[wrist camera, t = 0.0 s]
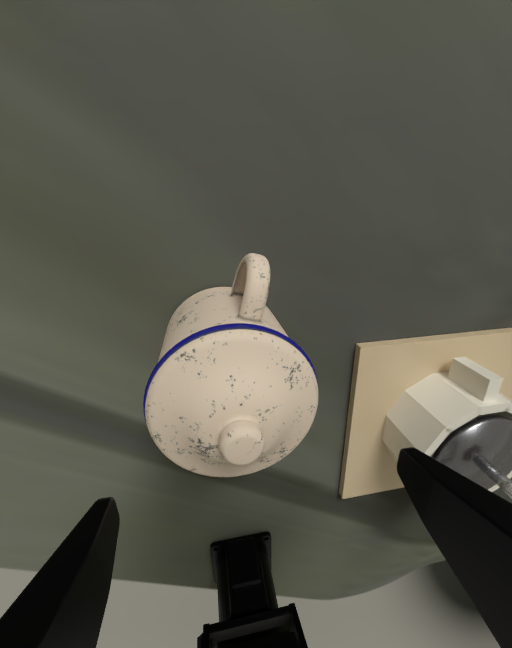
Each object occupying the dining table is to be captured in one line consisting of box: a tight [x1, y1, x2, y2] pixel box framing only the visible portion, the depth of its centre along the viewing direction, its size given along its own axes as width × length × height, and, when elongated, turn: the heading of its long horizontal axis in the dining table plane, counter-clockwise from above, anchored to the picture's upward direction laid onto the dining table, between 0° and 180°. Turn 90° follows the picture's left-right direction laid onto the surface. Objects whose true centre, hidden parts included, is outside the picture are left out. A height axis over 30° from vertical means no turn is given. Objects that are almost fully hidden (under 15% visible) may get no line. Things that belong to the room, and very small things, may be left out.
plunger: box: [433, 415, 512, 498], centre depth 22 cm, size 8×8×6 cm
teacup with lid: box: [143, 253, 318, 477], centre depth 17 cm, size 12×9×12 cm
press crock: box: [339, 328, 512, 499], centre depth 28 cm, size 18×18×6 cm
